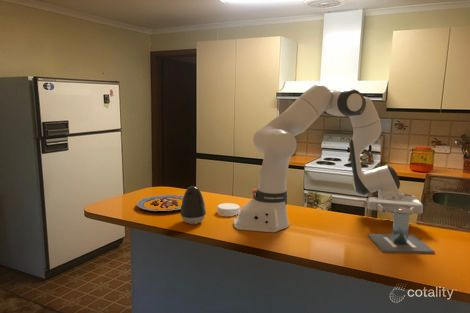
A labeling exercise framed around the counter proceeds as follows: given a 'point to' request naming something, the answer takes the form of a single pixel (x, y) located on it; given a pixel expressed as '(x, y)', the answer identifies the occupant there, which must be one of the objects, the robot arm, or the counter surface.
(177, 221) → the counter surface
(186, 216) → the black rounded cylinder
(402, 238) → the canister
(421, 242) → the letter board
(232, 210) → the coaster
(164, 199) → the ceramic plate
